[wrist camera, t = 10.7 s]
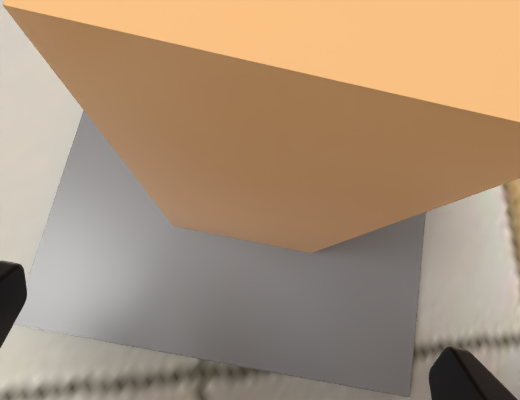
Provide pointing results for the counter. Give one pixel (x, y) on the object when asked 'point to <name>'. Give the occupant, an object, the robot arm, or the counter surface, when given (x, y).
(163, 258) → the base plate
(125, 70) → the tall tan pillar
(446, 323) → the counter surface
